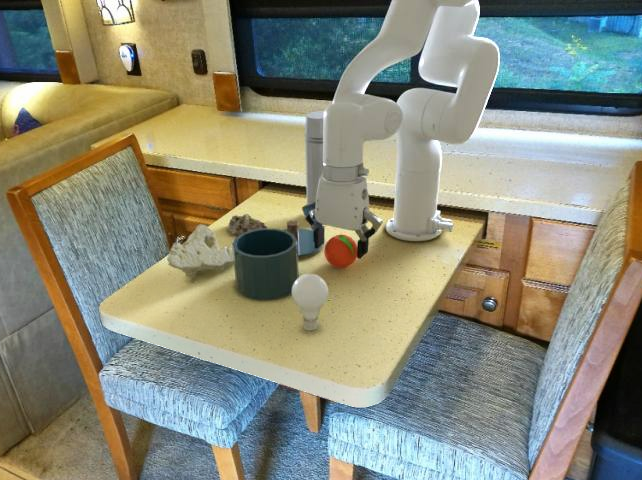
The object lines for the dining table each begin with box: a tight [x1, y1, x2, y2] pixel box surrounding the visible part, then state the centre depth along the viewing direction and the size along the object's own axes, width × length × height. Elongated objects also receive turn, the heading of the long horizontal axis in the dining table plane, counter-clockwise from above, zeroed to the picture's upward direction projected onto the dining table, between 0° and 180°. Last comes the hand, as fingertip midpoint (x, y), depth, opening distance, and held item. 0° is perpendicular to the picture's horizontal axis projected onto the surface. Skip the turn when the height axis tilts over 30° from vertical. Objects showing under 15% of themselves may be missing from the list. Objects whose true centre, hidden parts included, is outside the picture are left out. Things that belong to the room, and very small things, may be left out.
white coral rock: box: [167, 223, 234, 281], centre depth 126 cm, size 15×7×15 cm
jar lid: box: [282, 220, 324, 259], centre depth 134 cm, size 14×14×6 cm
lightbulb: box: [291, 273, 329, 332], centre depth 104 cm, size 6×6×11 cm
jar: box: [231, 227, 300, 301], centre depth 119 cm, size 13×13×10 cm
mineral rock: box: [228, 213, 268, 236], centre depth 143 cm, size 11×4×8 cm
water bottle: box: [304, 110, 324, 217], centre depth 141 cm, size 9×8×25 cm
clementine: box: [324, 234, 358, 269], centre depth 124 cm, size 8×7×7 cm
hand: (340, 251), depth 123 cm, fingers open, 9 cm apart
